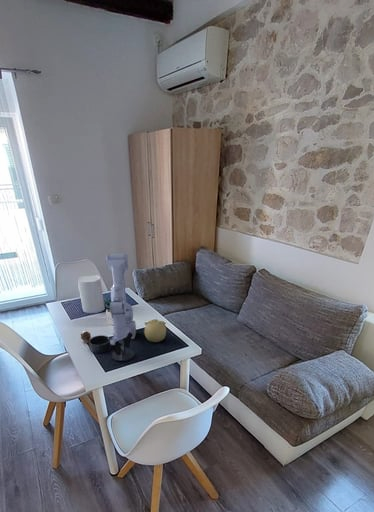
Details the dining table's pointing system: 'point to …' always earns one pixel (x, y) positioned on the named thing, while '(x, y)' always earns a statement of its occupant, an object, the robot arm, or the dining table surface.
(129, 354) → the lid
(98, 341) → the pot
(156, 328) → the sculpture
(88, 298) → the canister
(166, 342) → the dining table surface
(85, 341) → the mushroom
